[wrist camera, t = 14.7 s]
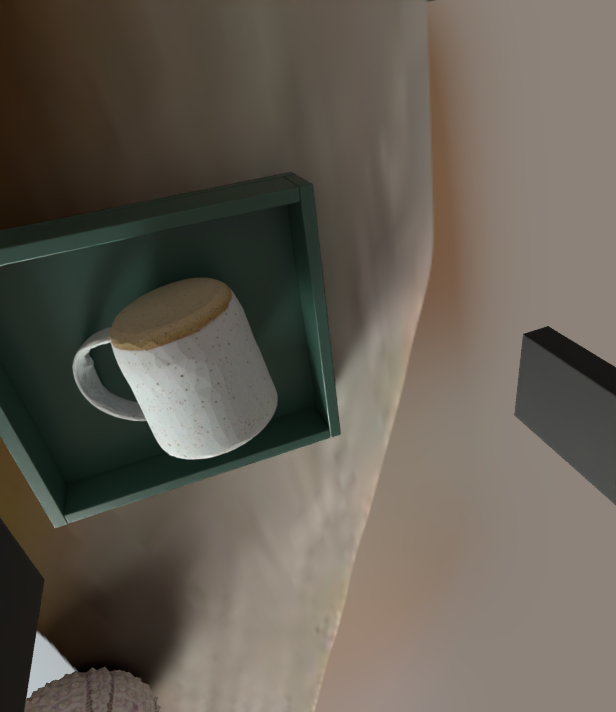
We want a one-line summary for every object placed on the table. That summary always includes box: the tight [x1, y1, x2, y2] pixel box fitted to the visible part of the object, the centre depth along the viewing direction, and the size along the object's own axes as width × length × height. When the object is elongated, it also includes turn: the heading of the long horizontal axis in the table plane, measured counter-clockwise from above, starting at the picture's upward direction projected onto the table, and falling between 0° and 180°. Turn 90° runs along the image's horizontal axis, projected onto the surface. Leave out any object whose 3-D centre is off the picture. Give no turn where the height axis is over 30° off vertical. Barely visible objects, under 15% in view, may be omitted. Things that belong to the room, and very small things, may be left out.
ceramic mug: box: [72, 277, 277, 459], centre depth 28 cm, size 11×8×8 cm
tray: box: [0, 172, 341, 528], centre depth 30 cm, size 20×18×4 cm
